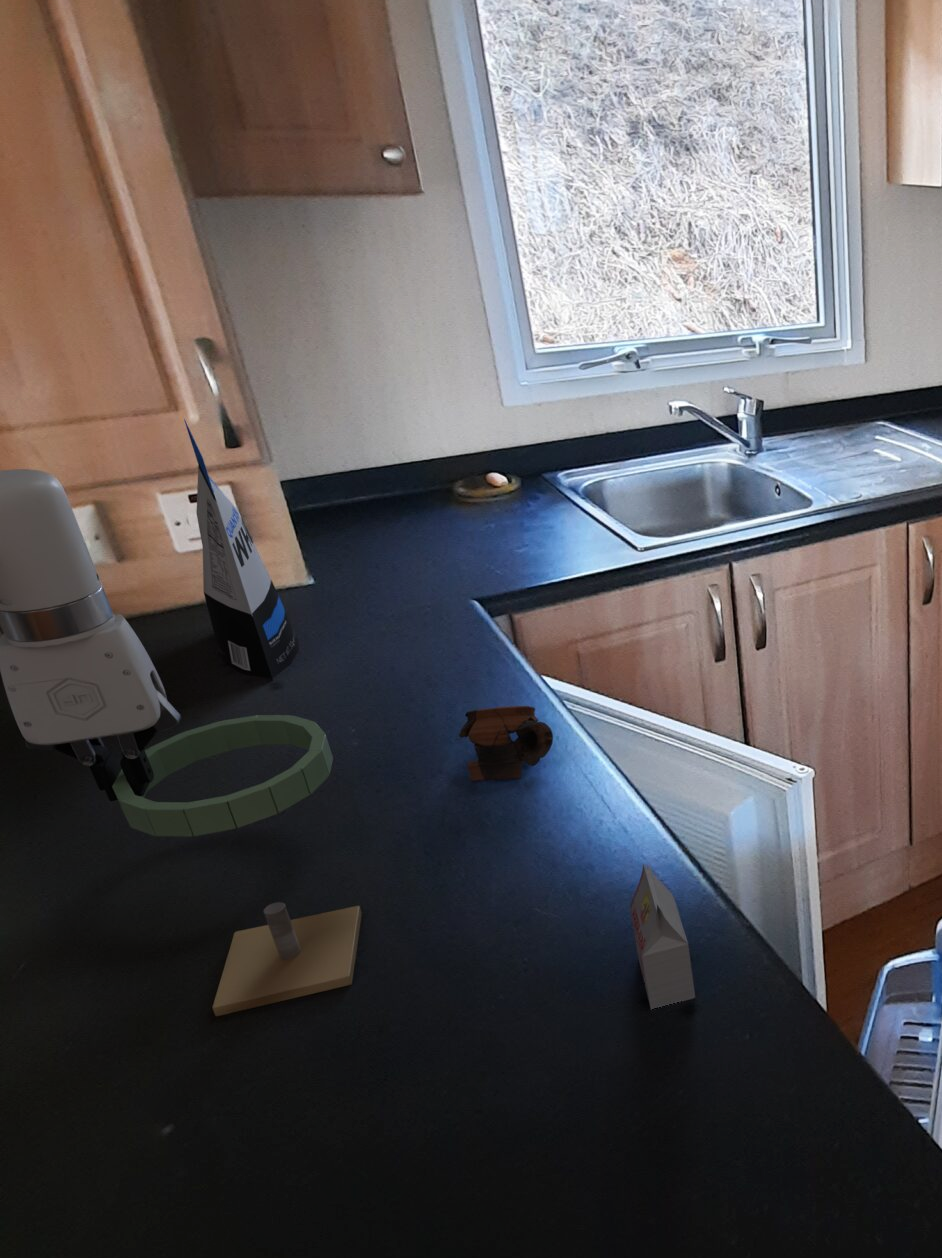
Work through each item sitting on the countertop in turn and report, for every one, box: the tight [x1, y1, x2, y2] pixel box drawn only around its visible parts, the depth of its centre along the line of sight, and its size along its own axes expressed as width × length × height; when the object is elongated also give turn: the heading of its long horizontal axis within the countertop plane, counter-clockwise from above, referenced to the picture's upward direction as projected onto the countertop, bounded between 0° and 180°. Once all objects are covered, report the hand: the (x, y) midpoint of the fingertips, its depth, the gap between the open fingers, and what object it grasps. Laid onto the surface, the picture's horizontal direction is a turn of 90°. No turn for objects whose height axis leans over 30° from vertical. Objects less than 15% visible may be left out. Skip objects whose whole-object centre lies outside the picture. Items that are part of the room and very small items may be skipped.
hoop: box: [112, 714, 334, 838], centre depth 102 cm, size 17×17×3 cm
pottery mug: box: [458, 705, 554, 782], centre depth 121 cm, size 12×10×8 cm
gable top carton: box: [629, 862, 696, 1011], centre depth 89 cm, size 4×7×10 cm, turn 24°
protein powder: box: [183, 418, 300, 681], centre depth 141 cm, size 10×24×30 cm, turn 38°
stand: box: [211, 901, 363, 1017], centre depth 91 cm, size 10×10×6 cm
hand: (130, 790), depth 100 cm, fingers closed on hoop, 1 cm apart
